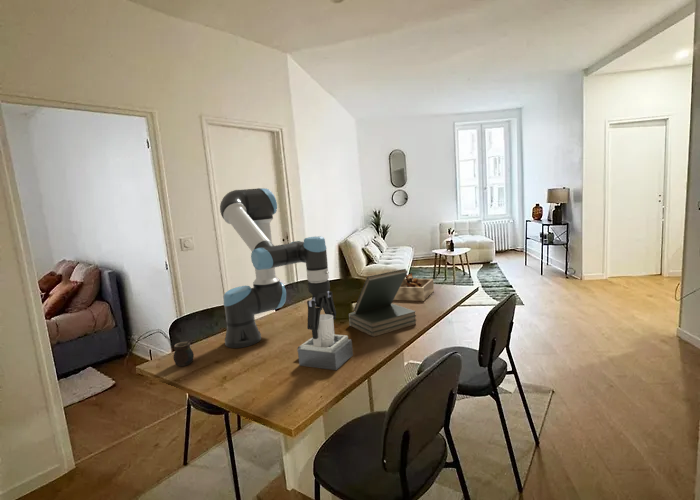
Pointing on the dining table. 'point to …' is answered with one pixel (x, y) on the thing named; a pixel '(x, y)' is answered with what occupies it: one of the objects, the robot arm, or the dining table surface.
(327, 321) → the white cup
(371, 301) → the book stack
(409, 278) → the bear figurine
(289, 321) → the dining table surface
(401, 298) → the bear crate
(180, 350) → the mate gourd
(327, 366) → the grey open box
